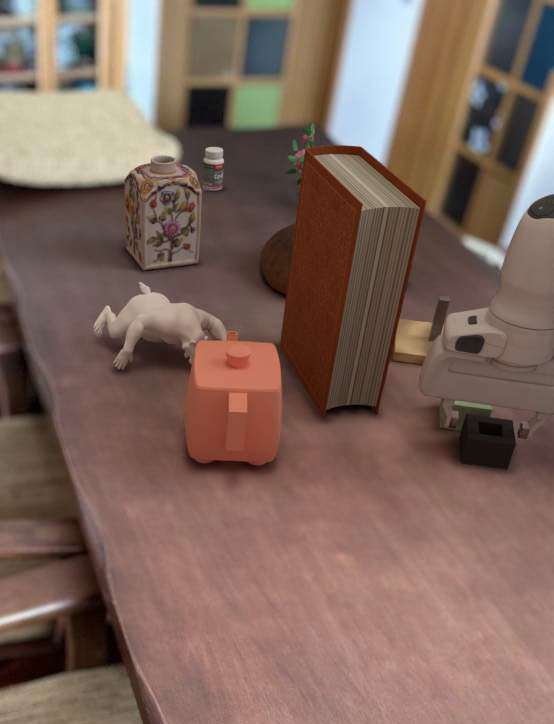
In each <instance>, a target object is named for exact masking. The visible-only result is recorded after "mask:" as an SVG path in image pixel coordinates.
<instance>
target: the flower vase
mask: <svg viewBox="0 0 554 724" xmlns="http://www.w3.org/2000/svg"><path fill="white" fill-rule="evenodd" d="M315 130H316V129H315V123H314V122H311V124H310V126H309V127H303V126H302V131H303V134H302V137H301V138H300V140H301V142H302V143H301V144H302V145H304V146H305V148H302V149H301V150H300V149H299V146H298V143H297V141H296V139H295V138H293V139H292V142H291V146H292V150H293V151H294V152H296V153H295V154H294V155H287V156H286V158H287V159H288V160H289V161H290V162H292V163H293V166H295V167H291V168H289V169H287V170H286V171H285V172H284V175H291V174H297V172H298V173H300V174H302V169H303V161H304V153H305V149H306V148H311V145H312V147H315V145H314V143H315V134H316V131H315ZM320 146H324V145H323V144H322V145H320ZM298 149H299V150H298ZM300 185H301V177H299V178H298V179H297V180H296V186H300Z"/></svg>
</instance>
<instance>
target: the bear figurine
mask: <svg viewBox="0 0 554 724" xmlns="http://www.w3.org/2000/svg"><path fill="white" fill-rule="evenodd" d="M138 284H139V286H138V287H139V288H140V289H139V290H140V292H142V294H137V295H135V296H133V297H131V299H130V300H128V302H127V303H126V305H125V306H124V307H123V308H122V309H121V310H120V312H119V313H118V314H117V315H116V314H115V313H114V312H112V310H111V307H110V306H109V305H106V306H104V308H103V309H102V310H101V313H100V314H99V316H98V317H97V319H96V320H95V322H94V324H93V326H92V327H93V333H94V336H96V337H97V338H100V337H101V336H102V334H103V331H104V328H105V326H106V327H107V331H108V334H109V336H110V338H111V339H122V338H125V339H124V340H125V341H124V344H123V348H122V349H120V351H119V353H118V354H117V355H116V357H115V359H114V360H113V362H112V364H115V365H114V367H115V368H116V367H117V370H120V369H121V370H122V371H124V370H125V367H126V365H127V364H128V361H129V363H131V362H132V361H133V359H134V354H133V352H134V349H135V347H136V344H137V343H138V341H139V340H140V339H141V338H142V339H143V340H144V341H148V342H150V343H155V344H160V343H161V344H162V343H166V344H169V345H172V344H176V343H177V344H178V343H181V345H182V346H181V349H182V351H184V353H183V355H184V358H186V359H188V358H189V359H188V363H189V364H190V365H192V363H193V358H194V353H195V349H196V345H197V343H198V342H199V341H200V340H209V336H208V335H206V334H205V333H204V331H207V332H208V334H209V335H210V336H211V337H212V338H213V339H214V340H215V341H226V337H227V331H228V330H227V329H226V327H225V325H224V324H223V322H222V320H220V319H219V318H218V317H216V316H215V315H213V314H211V313H209V312H207V311H206V310H203V309H199V308H196V307H195V306H193V305H192V304H190V303H188V302H177V303H175V302H174V303H173V302H170V300H169V299H168V298H167V296H166V295H164V294H162V293H160V292H156V291H151V288H150V287H149V286H148V285H146V284H145V283H144V282H142V281H138Z"/></svg>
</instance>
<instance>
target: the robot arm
mask: <svg viewBox="0 0 554 724" xmlns="http://www.w3.org/2000/svg"><path fill="white" fill-rule="evenodd" d="M417 386H418V390H419V391H420V393H421V394H422V396H424V397H431V398H437V399H442V405H443V408H444V411H445V413H446V416H445V419H444V427H450V428H456V426H457V424H456V423H458V419H459V416H458V414H459V412H458V411H453V410H452V408H451V406H453V405H454V402H455V400H457V401H464V402H471V403H478V404H484V405H491V406H492V407H498V408H499V407H500V408H505V409H512V410H519V411H526V412H533V413H535V415H533V416H532V417H531V418H530V419H529V420H528V421H524V420H521V421H520V423H519V427H518V428H517V438H518V439H523V440H529V441H530V440H531V439H532V437H533V434H534V432H535V431H536V430H537V429H539V428H540V427H541V426H543V425H544V424H546V423H547V422H548V421H549V419H550V416H551V415H552V416H554V193H551V194H548V195H545V196H543V197H541V198H538V199H536V200H534V202H532V203H531V204H530V205H529V206H528V208H527V209H526V210H525V212H524V213H523V215H522V216H521V218H520V220H519V221H518V224H517V226H516V227H515V230H514V232H513V235H512V236H511V239H510V242H509V244H508V247H507V250H506V253H505V256H504V258H503V261H502V264H501V268H500V273H499V285H498V289H497V291H496V293H495V294H494V296H493V297H492V299H491V301H490V303H489V306H487V307H481V308H477V309H471V310H465V311H463V310H462V311H456V312H452V313H449V314H447V315H446V318H445V321H444V328H443V334H441V335H439V336H438V337H437V338H436V339H435V340H434V341H433V343H432V345H431V347H430V349H429V351H428V353H427V355H426V358H425V360H424V363H423V364H421V368H420V371H419V375H418V385H417Z"/></svg>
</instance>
